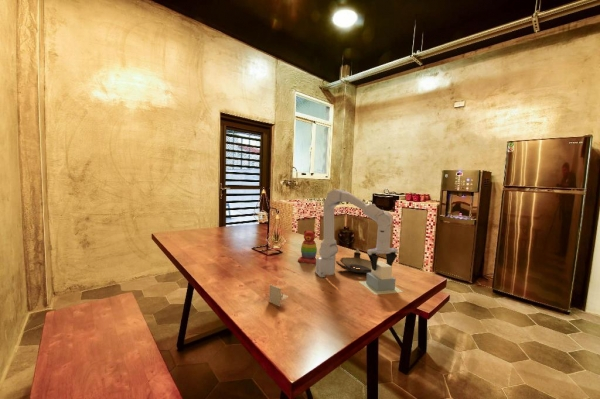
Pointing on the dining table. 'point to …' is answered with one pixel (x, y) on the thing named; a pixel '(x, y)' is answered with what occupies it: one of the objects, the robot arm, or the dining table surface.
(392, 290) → the baseplate
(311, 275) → the dining table surface
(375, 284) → the blue base brick
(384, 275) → the cream brick
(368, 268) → the dark shallow pan
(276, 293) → the grey tabbed plate
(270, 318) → the dining table surface
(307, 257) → the stacking bear
